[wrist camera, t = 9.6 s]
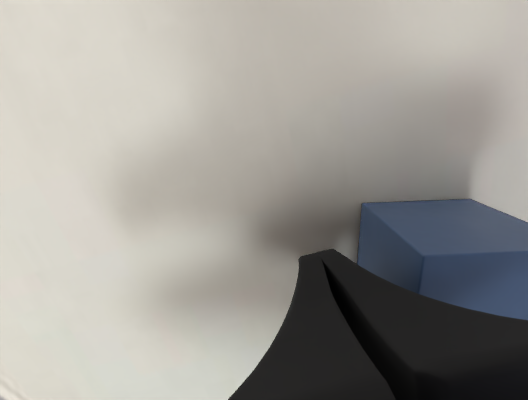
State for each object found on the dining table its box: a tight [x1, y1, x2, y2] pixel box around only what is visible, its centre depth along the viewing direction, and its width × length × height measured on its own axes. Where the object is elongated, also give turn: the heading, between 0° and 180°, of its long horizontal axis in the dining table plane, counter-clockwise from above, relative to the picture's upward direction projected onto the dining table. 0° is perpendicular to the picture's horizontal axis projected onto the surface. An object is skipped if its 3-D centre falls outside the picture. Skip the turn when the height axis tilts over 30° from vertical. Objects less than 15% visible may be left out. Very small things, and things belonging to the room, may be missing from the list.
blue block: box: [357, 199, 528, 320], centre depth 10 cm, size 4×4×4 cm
